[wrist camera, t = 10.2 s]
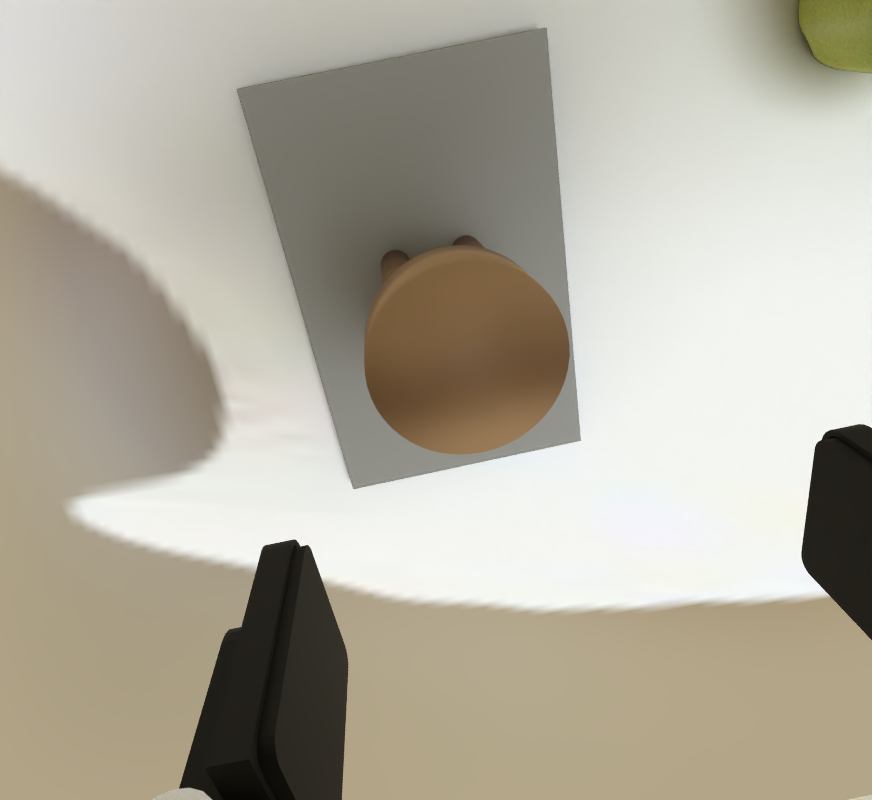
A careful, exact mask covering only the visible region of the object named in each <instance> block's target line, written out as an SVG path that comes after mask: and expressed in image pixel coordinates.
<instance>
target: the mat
mask: <svg viewBox="0 0 872 800" xmlns="http://www.w3.org/2000/svg"><path fill="white" fill-rule="evenodd" d="M237 92H238V95H239V98H240V102H241V105H242V109H243V112H244V116H245V119H246V122H247V126H248V129H249V133H250V136H251V140H252V143H253V147H254V150H255V153H256V157H257V160H258V164H259V167H260V171H261V174H262V177H263V181H264V184H265V188H266V191H267V195H268V198H269V201H270V205H271V208H272V212H273V215H274V219H275V222H276V225H277V229H278V232H279V236H280V239H281V243H282V246H283V250H284V253H285V256H286V260H287V263H288V267H289V270H290V274H291V277H292V280H293V284H294V287H295V291H296V294H297V298H298V301H299V304H300V308H301V311H302V315H303V318H304V322H305V325H306V329H307V332H308V335H309V339H310V342H311V346H312V349H313V353H314V356H315V359H316V363H317V366H318V370H319V373H320V377H321V380H322V383H323V387H324V390H325V394H326V397H327V401H328V404H329V407H330V411H331V414H332V418H333V421H334V425H335V428H336V432H337V435H338V438H339V442H340V445H341V449H342V452H343V456H344V459H345V462H346V466H347V469H348V473H349V476H350V480H351V483H352V486H353V489H357V488H361V487H366V486H371V485H375V484H380V483H385V482H390V481H394V480H399V479H404V478H408V477H413V476H418V475H422V474H427V473H432V472H436V471H441V470H446V469H450V468H455V467H460V466H464V465H469V464H474V463H478V462H483V461H488V460H492V459H497V458H502V457H506V456H511V455H516V454H520V453H525V452H530V451H535V450H539V449H544V448H549V447H553V446H558V445H563V444H567V443H572V442H577V441H581V438H580V426H579V414H578V402H577V390H576V378H575V366H574V354H573V342H572V330H571V318H570V306H569V294H568V282H567V270H566V257H565V245H564V233H563V221H562V209H561V197H560V185H559V173H558V161H557V149H556V137H555V125H554V113H553V101H552V89H551V77H550V65H549V53H548V41H547V28H542V29H537V30H532V31H527V32H522V33H517V34H512V35H507V36H502V37H497V38H492V39H487V40H482V41H477V42H472V43H467V44H462V45H457V46H452V47H447V48H442V49H437V50H432V51H426V52H421V53H416V54H411V55H406V56H401V57H396V58H391V59H386V60H381V61H376V62H371V63H366V64H361V65H356V66H351V67H346V68H341V69H336V70H331V71H326V72H321V73H316V74H311V75H306V76H300V77H295V78H290V79H285V80H280V81H275V82H270V83H265V84H260V85H255V86H250V87H245V88H240V89H237ZM465 235H469V236H472V237H474V238H476V239H477V240H478V241H479V242H480V243H481V244H482V245H483V246H484V247H485V248H486V249H489V250H492V251H495V252H497V253H499V254H501V255H504V256H505V257H507V258H509V259H510V260H512V261H513V262H515V263H516V264H517V265H518V266H520V267H521V268H522V269H523V270H524V271H525V272H526V273H528V274H529V275H530V276H531V277H532V278H533V279H534V280H535V281H536V282H537V283H539V284H540V285H541V286H542V287H543V288H544V289H545V290H546V291H547V293H548V294H549V295H550V296H551V297H552V299H553V300H554V302H555V303H556V305H557V306H558V308H559V310H560V312H561V314H562V316H563V318H564V321H565V325H566V328H567V331H568V337H569V348H570V357H569V365H568V371H567V375H566V379H565V382H564V384H563V387H562V389H561V392H560V394H559V396H558V397H557V399H556V401H555V403H554V404H553V406H552V407H551V409H550V410H549V411H548V413H547V414H546V415H545V416H544V417H543V418H542V419H541V421H540V422H539V423H538V424H536V425H535V426H534V427H533V428H532V429H531V430H530V431H528V432H527V433H525V434H524V435H522V436H521V437H520V438H518V439H516V440H514V441H512V442H511V443H509V444H507V445H504V446H502V447H499V448H497V449H493V450H490V451H486V452H482V453H475V454H462V455H456V454H445V453H440V452H435V451H431V450H428V449H425V448H422V447H420V446H418V445H416V444H414V443H412V442H410V441H408V440H407V439H405V438H404V437H402V436H401V435H399V434H398V433H397V432H396V431H395V430H393V429H392V428H391V427H390V426H389V425H388V424H387V422H386V421H385V420H384V419H383V418H382V416H381V415H380V413H379V412H378V410H377V409H376V407H375V405H374V403H373V401H372V399H371V397H370V394H369V391H368V388H367V383H366V378H365V367H364V334H365V325H366V320H367V316H368V312H369V309H370V307H371V304H372V302H373V300H374V298H375V296H376V294H377V292H378V291H379V289H380V288H381V286H382V285H383V280H382V271H381V260H382V258H383V256H384V255H385V254H386V253H387V252H389V251H392V250H400V251H402V252H404V253H405V254H406V255H407V256H408V257H409V259H410V260H411V259H412V258H414V257H416V256H418V255H420V254H422V253H425V252H427V251H429V250H433V249H437V248H440V247H446V246H452V245H453V243H454V242H455V240H456V239H458V238H459V237H461V236H465Z"/></svg>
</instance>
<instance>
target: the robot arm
mask: <svg viewBox="0 0 872 800" xmlns="http://www.w3.org/2000/svg"><path fill="white" fill-rule="evenodd" d="M802 561H803V564H804V566H805V568H806V570H807V572H808V573H809V574H810V575H811V576H812V577H813V578H814V580H815V581H816V582H817V583H818V584H819V585H820V586H821V587H822V588H823V589H824V590H825V591H826V592H827V593H828V594H829V595H830V596H831V597H832V598H833V600H835V602H837V604H838V605H839V606H840V607H841V608H842V609H843V610H844V611H845V612H846V613H847V614H848V615H849V616H850V618H851V619H852V620H853V621H854V622H855V623H856V624H857V625H858V626H859V627H860V628H861V629H862V630H863V631H864V632H865V633H866V634H867V635H868V637H869V638H870V639H871V640H872V428H871V427H869V426H866V425H861V424H858V425H854V426H849V427H844V428H839V429H834V430H830V431H828V432H826V433H825V434H824V436H823V438H822V440H821V441H819V442H818V443H817V444H816V447H815V452H814V460H813V468H812V475H811V483H810V491H809V498H808V506H807V514H806V522H805V529H804V537H803V545H802ZM347 682H348V658H347V652H346V648H345V645H344V642H343V639H342V636H341V633H340V630H339V628H338V625H337V622H336V619H335V616H334V613H333V611H332V608H331V605H330V602H329V599H328V596H327V594H326V591H325V588H324V585H323V582H322V579H321V577H320V574H319V571H318V568H317V565H316V562H315V560H314V557H313V554H312V551H311V549H310V547H309V546H308V545H306V546H301V547H300V545H299V543H298V542H297V540H289V541H284V542H280V543H275V544H270V545H265V546H264V547H263V549H262V551H261V555H260V559H259V562H258V566H257V570H256V574H255V578H254V581H253V585H252V589H251V593H250V597H249V601H248V604H247V608H246V612H245V616H244V620H243V623H242V627H240V628H235V629H230V630H229V631H228V632H227V633H226V634H225V636H224V639H223V641H222V644H221V647H220V651H219V654H218V658H217V661H216V664H215V668H214V671H213V675H212V678H211V681H210V685H209V688H208V692H207V695H206V698H205V702H204V705H203V709H202V713H201V716H200V719H199V723H198V726H197V729H196V733H195V736H194V740H193V743H192V746H191V750H190V753H189V757H188V760H187V764H186V767H185V770H184V774H183V777H182V781H181V784H180V787H179V789H175V790H171V791H169V792H167V793H164V794H162V795H159V796H157V797H155V798H154V799H153V800H342V783H343V782H342V781H343V763H344V762H343V761H344V741H345V722H346V702H347ZM849 800H872V795H868V796H864V797H859V798H854V799H849Z"/></svg>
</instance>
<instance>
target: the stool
mask: <svg viewBox="0 0 872 800" xmlns="http://www.w3.org/2000/svg"><path fill="white" fill-rule="evenodd" d="M381 271H382V280H383V285H382V286H381V288H380V289H379V291H378V292H377V294H376V296H375V298H374V300H373V302H372V304H371V307H370V309H369V312H368V316H367V320H366V325H365V334H364V367H365V378H366V383H367V388H368V391H369V394H370V397H371V399H372V401H373V403H374V405H375V407H376V409H377V410H378V412H379V413H380V415H381V416H382V418H383V419H384V420H385V421H386V422H387V424H388V425H389V426H390V427H391V428H392V429H393V430H395V431H396V432H397V433H398V434H399V435H401V436H402V437H404V438H405V439H407V440H408V441H410V442H412V443H414V444H416V445H418V446H420V447H422V448H425V449H428V450H431V451H435V452H440V453H445V454H456V455H462V454H475V453H482V452H486V451H490V450H493V449H497V448H499V447H502V446H504V445H507V444H509V443H511V442H512V441H514V440H516V439H518V438H520V437H521V436H522V435H524V434H525V433H527V432H528V431H530V430H531V429H532V428H533V427H534V426H535V425H536V424H538V423H539V422H540V421H541V419H542V418H543V417H544V416H545V415H546V414H547V413H548V411H549V410H550V409H551V407H552V406H553V404H554V403H555V401H556V399H557V397H558V396H559V394H560V392H561V389H562V387H563V384H564V382H565V379H566V375H567V371H568V365H569V357H570V348H569V337H568V331H567V328H566V325H565V321H564V318H563V316H562V314H561V312H560V310H559V308H558V306H557V305H556V303H555V302H554V300H553V299H552V297H551V296H550V295H549V294H548V293H547V291H546V290H545V289H544V288H543V287H542V286H541V285H540V284H539V283H537V282H536V281H535V280H534V279H533V278H532V277H531V276H530V275H529V274H528V273H526V272H525V271H524V270H523V269H522V268H521V267H520V266H518V265H517V264H516V263H515V262H513V261H512V260H510V259H509V258H507V257H505V256H504V255H501V254H499V253H497V252H495V251H492V250H489V249H486V248H485V247H484V246H483V245H482V244H481V243H480V242H479V241H478V240H477V239H476V238H474V237H472V236H469V235H465V236H461V237H459V238H458V239H456V240H455V242H454V243H453V245H452V246H446V247H440V248H437V249H433V250H429V251H427V252H425V253H422V254H420V255H418V256H416V257H414V258H412V259H411V260H410V259H409V257H408V256H407V255H406V254H405V253H404V252H402V251H400V250H392V251H389V252H387V253H386V254H385V255H384V256H383V258H382V260H381Z"/></svg>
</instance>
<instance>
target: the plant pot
mask: <svg viewBox="0 0 872 800" xmlns="http://www.w3.org/2000/svg"><path fill="white" fill-rule="evenodd" d="M799 24H800V28H801V30H802V32H803V33H804V35H805V37H806V39H807V41H808V43H809V45H810V48H811V50H812V52H813V55H814V57H815V58H816V59H817V60H819V61H820V62H821V63H822V64H824V65H826V66H828V67H831V68H834V69H839V70H846V71H855V72H865V73H872V0H799Z"/></svg>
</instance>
